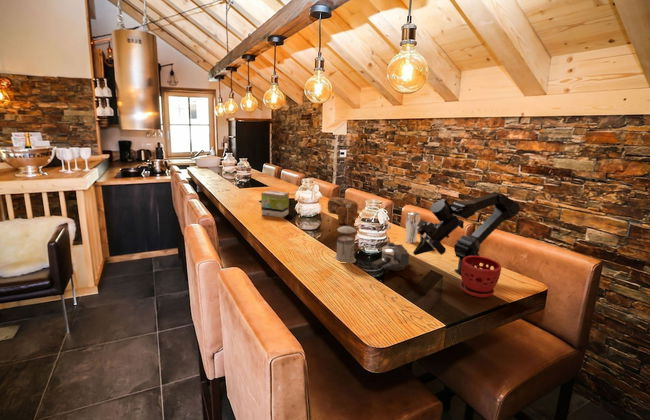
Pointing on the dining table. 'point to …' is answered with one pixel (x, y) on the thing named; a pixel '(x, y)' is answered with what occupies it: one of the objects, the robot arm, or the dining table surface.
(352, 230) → the french press
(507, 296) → the dining table surface
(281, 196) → the tea box
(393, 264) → the pot
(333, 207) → the bread
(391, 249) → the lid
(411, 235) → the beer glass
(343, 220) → the stuffed squirrel
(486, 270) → the plant pot
